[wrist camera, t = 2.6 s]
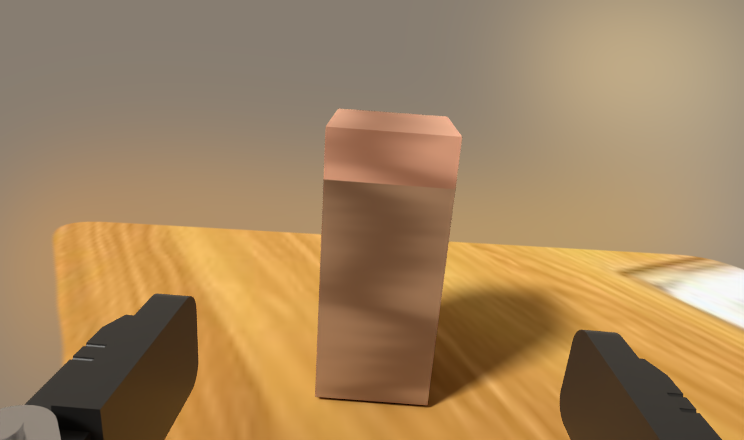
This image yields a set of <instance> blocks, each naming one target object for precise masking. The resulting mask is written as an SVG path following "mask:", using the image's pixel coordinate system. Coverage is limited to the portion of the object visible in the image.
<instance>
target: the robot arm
mask: <svg viewBox="0 0 744 440" xmlns="http://www.w3.org/2000/svg"><path fill="white" fill-rule="evenodd" d="M197 370H198V340H197V314H196V303H195V300H194V298H193V297H191V296H180V295H168V294H154V295H153V296H152V297H151V298H150V299H149V300H148V301H147V302H146V303H145V304H144V306H143V307H142V308H141V309H140V310H139V311H138V312H137V313H136V314H135V315H134V316H133V315H124V316H123V317H121V318H119V319H117V320H115V321H113V322H111V323H109V324H107V325H106V326H104V327H102V328H101V329H100V330H99V331H98V332H97V333H96V334H95V335H94V336H93V337H92V338H91V339H90V340H89V341H88V342H87V343H86V346H83V347H82V348H81V349H80V350H79V351H78V352H77V353H76V354H75V355H74V356H73V359H72V360H69V361H68V362H67V363H66V364H65V365H64V366H63V367H62V368H61V369H60V370H59V371H58V372H57V373H56V374H55V375H54V376H53V377H52V378H51V379H50V380H49V381H48V382H47V383H46V384H45V385H44V386H43V387H42V388H41V389H40V390H39V391H38V392H37V393H36V394H35V395H34V396H33V397H32V398H31V399H30V400H29V401H28V402H27V403H26V404H25V405H17V406H10V407H5V408H1V409H0V440H164V439H165V438H166V436H167V434H168V432H169V431H170V429H171V427H172V425H173V423H174V422H175V420H176V418H177V416H178V414H179V413H180V411H181V409H182V407H183V406H184V404H185V402H186V400H187V398H188V397H189V395H190V393H191V391H192V389H193V387H194V384H195V380H196V376H197ZM560 412H561V417H562V421H563V424H564V426H565V428H566V430H567V433H568V435H569V437H570V439H571V440H722V439H721V438H720V437H719V436H718V434H717V433H716V432H715V431H714V430H713V429H712V427H711V426H710V425H709V424H708V423H707V421H706V420H705V419H704V418H703V417H702V416H701V414H700V413H696V408H695V407H694V406H693V405H692V404H691V403H690V401H689V400H688V399H687V398H685V397H683V393H682V392H681V391H680V390H679V388H678V387H677V386H676V385H675V384H674V383H673V381H672V380H671V379H670V378H669V377H668V375H666V374H665V373H663V372H662V371H660V370H659V369H658V368H656V367H655V366H653V365H652V364H650V363H649V362H648V361H646V360H645V359H639V358H638V357H637V355H636V354H635V353H634V352H633V350H632V349H631V348H630V347H629V345H628V344H627V343H626V342H625V340H624V339H623V338H622V337H621V336H620V335H619V334H618V333H614V332H602V331H590V330H579V331H577V333H576V334H575V336H574V338H573V342H572V346H571V350H570V355H569V359H568V363H567V367H566V371H565V376H564V380H563V384H562V388H561V393H560Z"/></svg>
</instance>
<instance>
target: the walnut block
mask: <svg viewBox="0 0 744 440" xmlns="http://www.w3.org/2000/svg"><path fill="white" fill-rule="evenodd" d="M461 143H462V136H461V134H460V133H459V132H458V130H457V129H456V128H455V126H454V125H453V124H452V123H451V121H450V120H449V118H448V117H444V116H430V115H417V114H403V113H390V112H376V111H364V110H350V109H338V110H337V111H336V113H335V114H334V115H333V117H332V118H331V120H330V121H329V123H328V124H327V126H326V133H325V159H324V185H323V211H322V235H321V261H320V286H319V312H318V337H317V363H316V388H315V397H326V398H339V399H352V400H365V401H378V402H391V403H404V404H417V405H427V404H428V397H429V389H430V381H431V374H432V366H433V358H434V351H435V343H436V335H437V327H438V320H439V312H440V304H441V297H442V289H443V281H444V274H445V266H446V258H447V250H448V243H449V235H450V227H451V220H452V212H453V203H454V197H455V189H456V181H457V173H458V166H459V157H460V150H461Z"/></svg>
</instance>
